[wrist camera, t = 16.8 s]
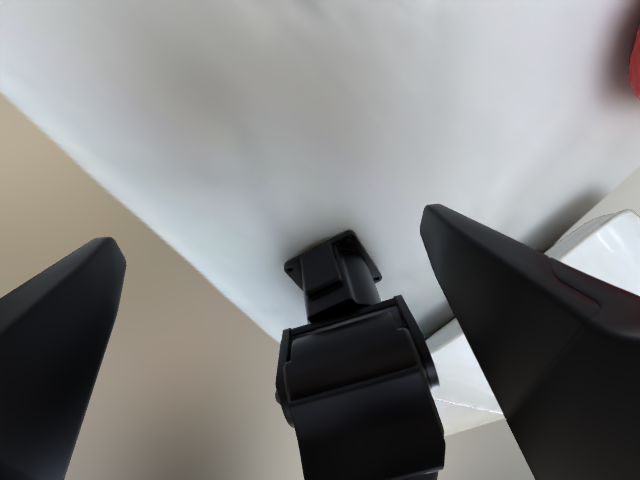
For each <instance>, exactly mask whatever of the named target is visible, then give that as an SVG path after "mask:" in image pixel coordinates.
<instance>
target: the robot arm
mask: <svg viewBox="0 0 640 480" xmlns="http://www.w3.org/2000/svg"><path fill="white" fill-rule="evenodd" d="M420 234H421V237H422V240H423V243H424V246H425V249H426V251H427V254H428V257H429V260H430V263H431V266H432V269H433V271H434V274H435V276H436V278H437V280H438V283H439V285H440V287H441V289H442V291H443V293H444V295H445V297H446V299H447V301H448V303H449V305H450V307H451V309H452V311H453V313H454V315H455V317H456V319H457V321H458V323H459V325H460V327H461V329H462V331H463V333H464V335H465V337H466V339H467V341H468V343H469V345H470V347H471V349H472V352H473V354H474V356H475V358H476V360H477V362H478V364H479V366H480V368H481V370H482V372H483V374H484V376H485V378H486V380H487V382H488V384H489V386H490V388H491V390H492V392H493V394H494V396H495V398H496V400H497V402H498V404H499V406H500V408H501V410H502V412H503V414H504V416H505V418H507V419H506V421H507V423H508V425H509V427H510V429H511V431H512V433H513V435H514V437H515V439H516V441H517V443H518V445H519V447H520V449H521V451H522V453H523V455H524V457H525V460H526V462H527V464H528V465H529V467H530V469H531V472H532V474H533V475H534V478H535V480H640V296H639V295H636V294H634V293H631V292H629V291H626V290H624V289H622V288H619V287H617V286H614V285H612V284H610V283H607V282H605V281H603V280H600V279H598V278H595V277H593V276H591V275H588V274H586V273H584V272H582V271H580V270H577V269H575V268H573V267H571V266H569V265H567V264H564V263H562V262H560V261H558V260H556V259H554V258H552V257H550V258H549V256H548V255H546V254H543V253H541V252H539V251H537V250H535V249H533V248H531V247H529V246H527V245H525V244H522V243H520V242H518V241H516V240H514V239H512V238H510V237H508V236H506V235H504V234H502V233H499V232H497V231H495V230H493V229H491V228H489V227H487V226H485V225H483V224H481V223H479V222H476V221H474V220H472V219H470V218H468V217H466V216H464V215H462V214H460V213H458V212H456V211H453V210H451V209H449V208H447V207H445V206H443V205H441V204H432V205H427V206H425V208H424V211H423V216H422V220H421V225H420ZM350 236H351V238H348V237H350ZM289 267H292V268H289ZM125 270H126V260H125V257H124V256H123V254H122V252H121V250H120V248H119V247H118V245H117V243H116V241H115V240H114V239H113V238H112V237H101V238H95V239H93V240H91V241H90V242H88V243H87V244H85V245H84V246H82V247H80V248H79V249H77V250H76V251H74V252H72V253H71V254H69V255H68V256H66V257H65V258H63V259H61V260H60V261H58V262H57V263H55V264H54V265H52V266H51V267H49V268H47V269H46V270H44V271H43V272H41V273H40V274H38V275H36V276H35V277H33V278H32V279H30V280H28V281H27V282H25V283H24V284H22V285H21V286H19V287H18V288H16V289H14V290H13V291H11V292H10V293H8V294H7V295H5V296H3V297H2V298H0V480H64V478H65V475H66V472H67V469H68V466H69V463H70V460H71V456H72V453H73V450H74V447H75V444H76V440H77V438H78V435H79V432H80V428H81V425H82V422H83V419H84V416H85V413H86V410H87V407H88V403H89V400H90V397H91V394H92V391H93V387H94V384H95V382H96V378H97V375H98V372H99V369H100V366H101V362H102V360H103V357H104V353H105V350H106V347H107V344H108V341H109V338H110V335H111V332H112V329H113V325H114V322H115V319H116V316H117V312H118V307H119V302H120V297H121V292H122V286H123V281H124V276H125ZM284 271H285V272H286V273H287V274H288V276H289V277H290V278H291V279H292V280H293V281H294V282H295V283H296V284H297V285H298V286H299V287H300V288H301V289H302V290H303V291H304V298H305V306H306V314H307V321H308V324H307V325H303V326H300V327H297V328H294V329H291V328H289V329H286V330H283V334H282V340H281V345H280V353H279V360H278V368H277V376H276V389H277V390H276V393H275V397H276V401H277V402H278V403H279V404H280V405H281V407H282V410H283V413H284V416H285V418H286V420H287V422H288V424H289V425H290V426H291V427H293V428H294V427H295V431H296V436H297V440H298V445H299V450H300V456H301V462H302V469H303V475H304V479H305V480H437V476H438V471H439V470H442V469H443V468H444V459H445V440H444V430H443V426H442V423H441V420H440V417H439V414H438V411H437V408H436V405H435V403H434V400H433V397H432V394H431V391H430V390H432V389H435V388H439V387H440V383H439V378H438V374H437V371H436V368H435V365H434V362H433V359H432V356H431V354H430V351H429V349H428V346H427V344H426V341H425V339H424V337H423V335H422V333H421V331H420V329H419V327H418V325H417V323H416V321H415V319H414V318H413V316H412V314H411V312H410V310H409V308H408V306H407V304H406V303H405V301H404V299H403V297H402V295H398V296H394V298H392V299H389V300H386V301H383V302H381V300H380V297H379V294H378V292H377V289H376V286H375V283H377V282H379V281H381V279H382V276H381V273H380V272H379V270H378V269H377V267H376V265H375V264H374V262H373V261H372V259H371V258H370V256H369V254H368V253H367V251H366V250H365V248H364V247H363V245H362V244H361V242H360V240H359V239H358V237H357V236H356V234H355V233H354V232H353V231H347V232H345V233H343V234H341V235H339V236H337V237H335V238H333V239H331V240H329V241H327V242H325V243H324V244H322V245H320V246H318V247H316V248H314V249H312V250H310V251H308V252H306V253H304V254H302V255H300V256H298V257H296V258H294V259H293V260H291V261H289V262H287V263H285V265H284Z"/></svg>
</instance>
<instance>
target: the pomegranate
mask: <svg viewBox="0 0 640 480" xmlns="http://www.w3.org/2000/svg"><path fill="white" fill-rule="evenodd" d="M629 63H630V69H629V72H628V76H629V82H630V85H631V87H632V89H633V91H634V93H635V95H636V96H637V97H638V98H639V99H640V25H639V28H638V31H637V35H636V40H635V44H634V48H633V51H632V54H631V57H630V61H629Z"/></svg>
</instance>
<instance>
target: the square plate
mask: <svg viewBox="0 0 640 480" xmlns="http://www.w3.org/2000/svg"><path fill="white" fill-rule="evenodd" d="M544 254H546V255H548V256H549V258H550V257H552V258H554V259H556V260H558V261H560V262H562V263H564V264H567V265H569V266H571V267H573V268H575V269H577V270H580V271H582V272H584V273H586V274H588V275H591V276H593V277H595V278H598V279H600V280H603V281H605V282H607V283H610V284H612V285H614V286H617V287H619V288H622V289H624V290H626V291H629V292H631V293H634V294H636V295H639V296H640V217H639V216H638V215H637V213H635V212H634V211H632V210H630V209H627V210H623V211H620V212H617V213H614V214H608V215H604V216H601V217H598V218H596V219H593V220H591V221H589V222H587V223H585V224H584V225H582V226H581V227H579V228H578V229H576V230H575V231H573V232H572V233H570V234H569V235H568V236H567V237H565V238H564V239H562V240H561V241H560V242H558V243H557V244H556V245H554V246H553V247H552V248H550V249H549V250H548V251H546V252H545V253H544ZM426 344H427V346H428V349H429V351H430V354H431V356H432V359H433V362H434V365H435V368H436V371H437V374H438V378H439V383H440V387H439V388H435V389H432V390H430V391H431V394H432V397H433V399H435V400H439V401H443V402H448V403H452V404H457V405H461V406H465V407H470V408H475V409H480V410H484V411H489V412H494V413H500V414H503V412H502V410H501V408H500V406H499V404H498V402H497V400H496V398H495V396H494V394H493V392H492V390H491V388H490V386H489V384H488V382H487V380H486V378H485V376H484V374H483V372H482V370H481V368H480V366H479V364H478V362H477V360H476V358H475V356H474V354H473V352H472V349H471V347H470V345H469V343H468V341H467V339H466V337H465V335H464V333H463V331H462V329H461V327H460V325H459V323H458V321H457V319H456V318H454V319H453V320H452V321H450V322H449V323H448V324H446V325H445V326H444V327H442V328H441V329H439V330H438V331H437V332H435V333H434V334H433V335H432V336H431V337H430V338H429V339H428V340H426Z"/></svg>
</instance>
